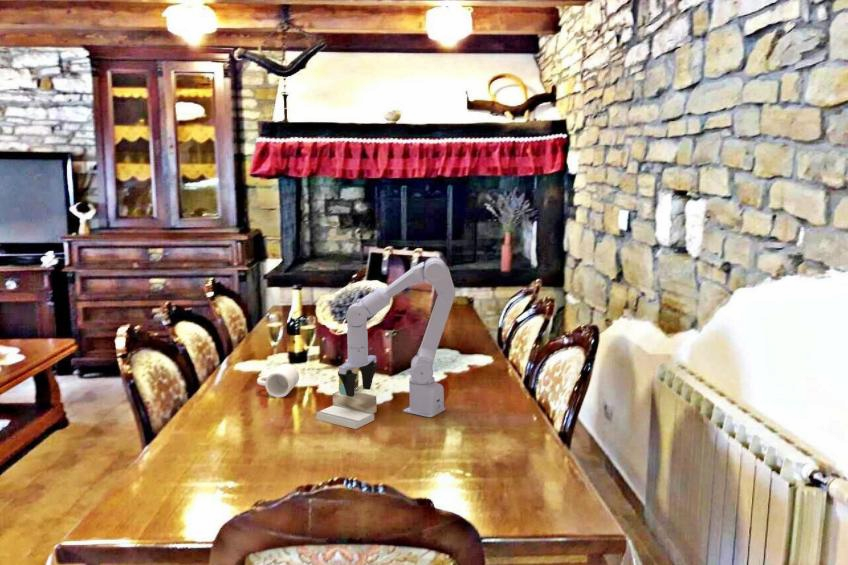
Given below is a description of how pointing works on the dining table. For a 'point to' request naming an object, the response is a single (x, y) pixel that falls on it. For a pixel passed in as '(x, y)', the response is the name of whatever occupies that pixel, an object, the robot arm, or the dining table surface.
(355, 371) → the candy box
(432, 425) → the dining table surface
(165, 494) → the dining table surface
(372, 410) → the thick cream slab
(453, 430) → the dining table surface
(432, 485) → the dining table surface
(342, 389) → the matte teal cube
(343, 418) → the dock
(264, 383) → the mug
